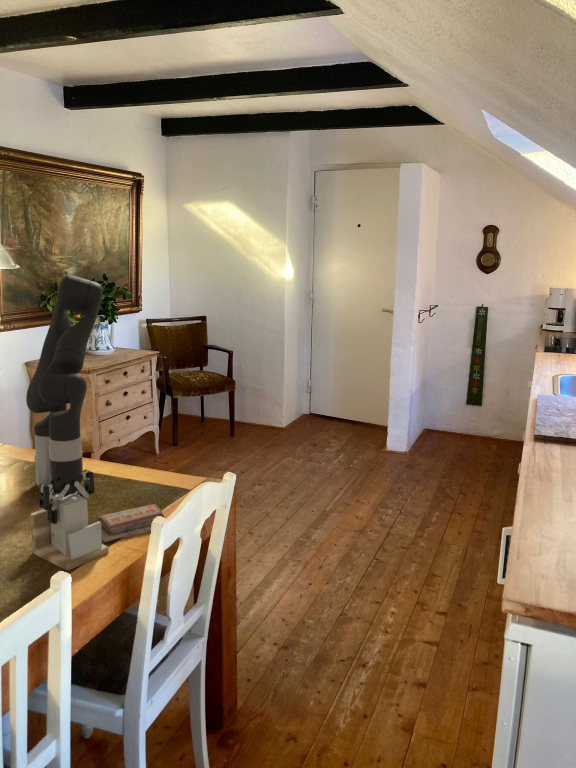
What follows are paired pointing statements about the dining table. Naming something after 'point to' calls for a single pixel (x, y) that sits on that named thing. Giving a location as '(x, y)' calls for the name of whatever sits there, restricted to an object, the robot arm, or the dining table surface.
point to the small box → (68, 520)
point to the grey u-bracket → (47, 550)
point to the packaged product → (128, 522)
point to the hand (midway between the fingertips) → (68, 517)
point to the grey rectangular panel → (84, 541)
